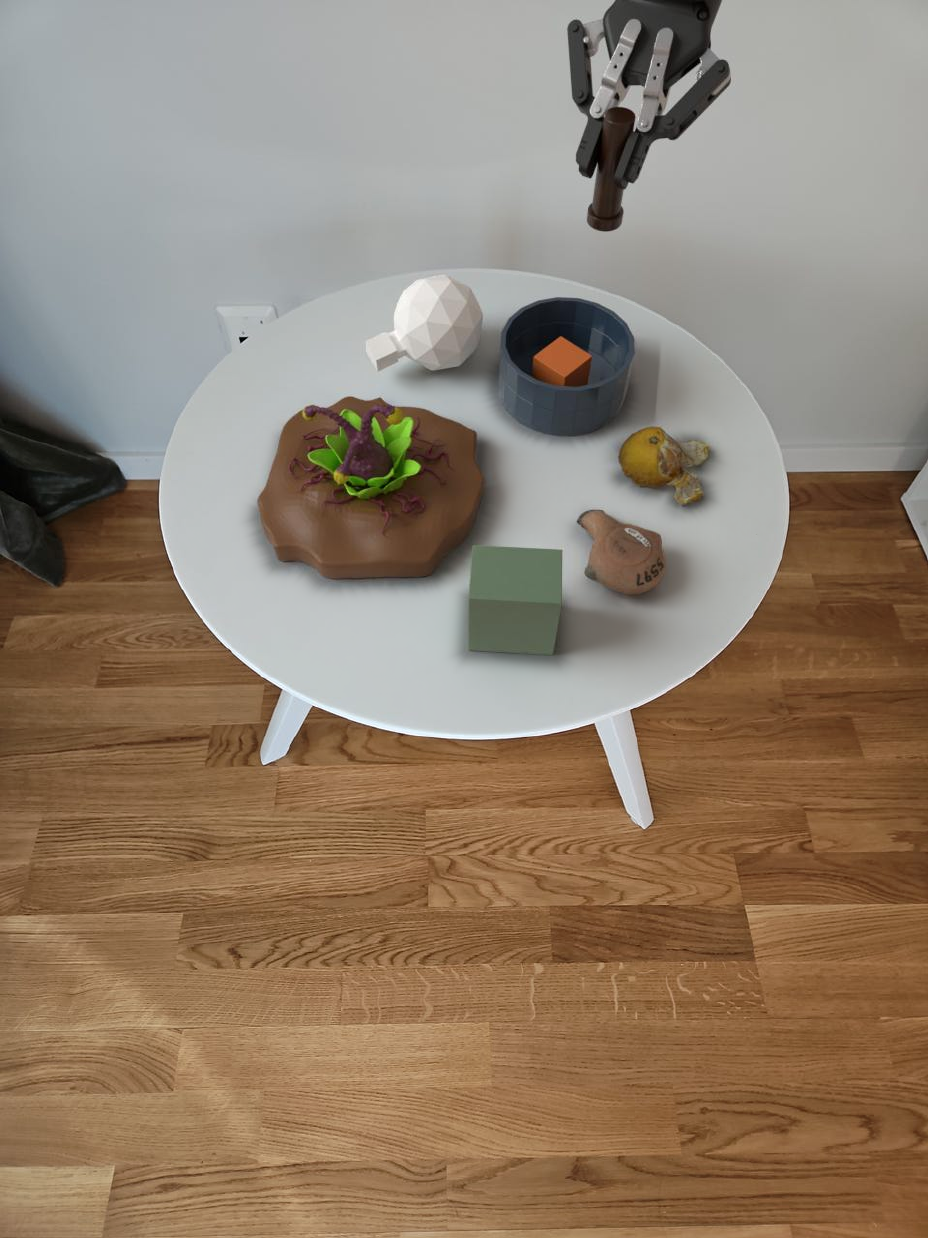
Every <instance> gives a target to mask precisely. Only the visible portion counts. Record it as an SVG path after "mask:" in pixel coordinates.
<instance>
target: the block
mask: <svg viewBox="0 0 928 1238" xmlns="http://www.w3.org/2000/svg"><path fill="white" fill-rule="evenodd" d="M591 361H592V356H591V355H590V354H588V353H587V352H585V351H584V350H582V349H580V348H579V347H577V346H576V345H574V344H573V343H571V342H569V341H568V340H566V339H565V338H563V337H562V336H560V337H559V338H558V339H556V340H555V341H554V342H552V343H551V344H550V345H548V346H547V347H546V348H544V349H543V350H542V351H540V352H539V353H538V354H536V355H535V356H534V358H533V369H532V377H533V378H534V379H536V380H538V381H541V382H545V383H548V384H552V385H555V386H569V387H580V386H585V385H588V380H589V373H590V367H591Z"/></svg>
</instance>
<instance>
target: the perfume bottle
mask: <svg viewBox="0 0 928 1238" xmlns="http://www.w3.org/2000/svg"><path fill="white" fill-rule="evenodd" d="M483 319H484V313H483V311H482V308H481V305H480V303H479V301H478V299H477V298H476V295H475V294H474V292H473V290H472V288H471V287H470V286H469V285H466V284H465V283H463V282H461V281H459V280H457V279H455V278H453V277H451V276H450V275H447V274H446V273H442V274H437V275H434V276H428V277H424V278H418V279H416V280H415V281H414V282H412V283H411V284H410V285H409V286H408V287H406V288H405V289H404V290H403V291H402V293H401V295H400V297H399V299H398V300H397V304H396V307H395V310H394V313H393V326H394V327H393V329H394V330H392V331H390V332H388V331H383V332H381V333H379V334H377V335H374V336H373V337H371V338H368V339H366V340H365V341H364V342H365V350H366V354H367V356H368V358H369V360H370V361H371V363H372V365H373V367H374V368H375V370H376V371H377V373H378V372H380V371H382V370H384V369H386V368H388V367H390V366H391V367H392V366H393V365H395V364H396V363H399V359H402V358H403V357H406V358H407V359H409V360H412V361H413V362H414V363H417V364H418V365H420V366H422V367H423V368H426V369H428V370H430V371H432V372H433V371H439V370H445V369H451V368H455V367H460V366H461V365H462V364H464V362H466V360H467V359H468V358H469V357H470V356H471V355H472V354H473V353H474V352H475V351H476V349H477V348H478V347H479V346H480V340H481V335H482V328H483Z"/></svg>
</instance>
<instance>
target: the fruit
mask: <svg viewBox="0 0 928 1238" xmlns="http://www.w3.org/2000/svg"><path fill="white" fill-rule="evenodd" d="M709 448H710V447H709V445H707V444H706V443H705V442H703V441H702V440H698V439H697V440H696V439H692V440H689V441H684V442H678V441H676V439H674V438H673V437H672V436H670V435H669V433H667V432H666V430H664V429H663V428H662V427H661V426H647V427H644V428H641V429H639V430H637V431H635V432H632V433H631V434H630V435H629V436H628V438H626V439H625V441H624V442H623V443H622V445H621V446H620V449H619V453H618V455H617V459H618V463H619V465H620V468H621V471H622V472H623V473H624V477H627V478H630V479H631V481H632V483H634V484H635V485H637V486H639V487H640V488H642V487H646V488H654V489H659V488H660V487H662V486H664V485H667V486H674V487H675V493H674V496H673V497H674V500H675V501H676V502H677V504H680V505H682V506H683V505H686V504H687V503H691V502H693V503H694V502H697V501H699V500H700V499H702V498H703V497H705V493H704V491H703V490H702V486H701V484H699V476H698V475H697V474H693V473H692V472H689V471H687V470H684V469H683V468H685V467H689V468H691V467H694V466H698V465H701V464H702V463H703V462H704V461H706V459H707V458H708V457H709V456H710V452H709Z"/></svg>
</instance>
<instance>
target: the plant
mask: <svg viewBox="0 0 928 1238" xmlns="http://www.w3.org/2000/svg"><path fill="white" fill-rule="evenodd" d="M477 449H478V433H477V431H476V430H474V429H472V428H470V427H467V426H465V425H464V424H463V423H460V422H458V421H455V420H452V419H450V418H447V417H444V416H441V415H439V414H437V413H434V411H433V412H432V411H430V410H428V409H425V408H422V407H415V406H396V405H392V404H390V403H388V402H387V401H385V400H383V399H382V398H381V396H379V397H377V398H374V399H369V400H365V399H360V398H358V397H355V396H352V395H351V396H350V395H349V396H348V395H347V396H344V397H343V398H341V399H340V400H338V401H337V402H335V403H334V404H332V405H330V406H328V407H324V406H322V407H321V406H319V405H315V404H310V405H307V406H305V407H304V408H302V409H301V410H299V411H298V412H296V413H295V414H293V415H292V417H290V418H289V419H288V420H287V421H286V423H285V424H284V426H283V427H282V430H281V433H280V436H279V439H278V444H277V450H276V453H275V456H274V459H273V462H272V465H271V468H270V471H269V474H268V477H267V481H266V484H265V486H264V487H263V490H262V491H261V492H260V494H259V495H258V497H257V507H258V511H259V515H260V516H259V517H260V523H261V526H262V529H263V533H264V535H265V537H266V539H267V540H268V542H269V543H270V544H271V545H272V547H273V549H274V552H275V555H276V558H277V560H278V561H279V562H291V561H297V562H301V563H305V564H307V565H309V566H311V567H313V569H315V570H316V571H317V572H318V573H319V574H320V575H321V576H322V577H324V578H327V579H335V580H337V579H360V578H361V579H363V578H364V579H365V578H385V577H387V578H388V577H393V578H417V577H419V578H420V577H427V576H430V575H432V574H433V572H434V571H435V570H436V569H437V568H438V566H439V565H440V564H441V562H442V561H443V560H444V559H445V557H446V556H447V555H448V554H449V553H450V552H451V551H452V550H453V549H455V548H457V547H459V546H460V545H461V544H462V543H463V542H465V540H466V538H467V536H468V535H469V534H470V532H471V530H472V528H473V526H474V524H475V520H476V516H477V512H478V510H479V507H480V504H481V501H482V499H483V498H482V497H483V495H484V484H485V483H484V481H485V477H484V474H483V473H482V471H481V469H480V467H479V465H478V462H477V455H476V452H477Z"/></svg>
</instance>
